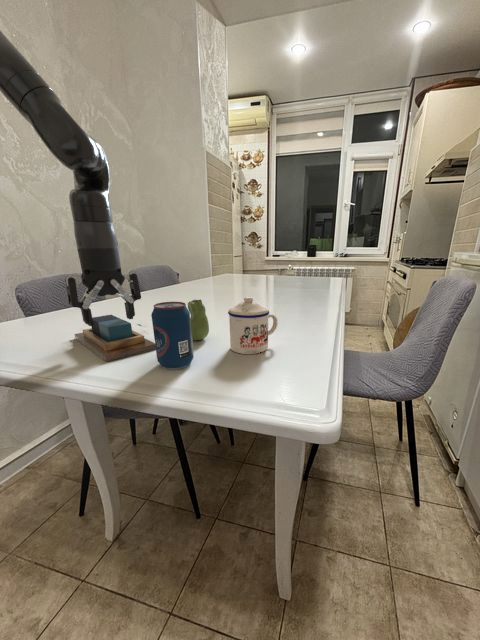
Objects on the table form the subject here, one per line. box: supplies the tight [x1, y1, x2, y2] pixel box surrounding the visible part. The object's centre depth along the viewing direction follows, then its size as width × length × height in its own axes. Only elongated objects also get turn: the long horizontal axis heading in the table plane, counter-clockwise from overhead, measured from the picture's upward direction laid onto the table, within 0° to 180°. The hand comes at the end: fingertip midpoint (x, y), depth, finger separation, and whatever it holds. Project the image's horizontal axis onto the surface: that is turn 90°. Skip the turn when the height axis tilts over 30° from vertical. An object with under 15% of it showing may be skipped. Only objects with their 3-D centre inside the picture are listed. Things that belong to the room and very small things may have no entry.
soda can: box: [150, 301, 194, 371], centre depth 56 cm, size 7×7×12 cm
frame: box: [74, 327, 156, 363], centre depth 69 cm, size 11×22×3 cm, turn 46°
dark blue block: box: [90, 314, 121, 338], centre depth 71 cm, size 5×6×4 cm
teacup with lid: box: [227, 296, 279, 355], centre depth 65 cm, size 12×9×12 cm
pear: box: [187, 299, 210, 341], centre depth 71 cm, size 6×5×10 cm
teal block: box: [98, 318, 133, 342], centre depth 67 cm, size 5×6×4 cm
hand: (111, 321), depth 66 cm, fingers open, 8 cm apart
